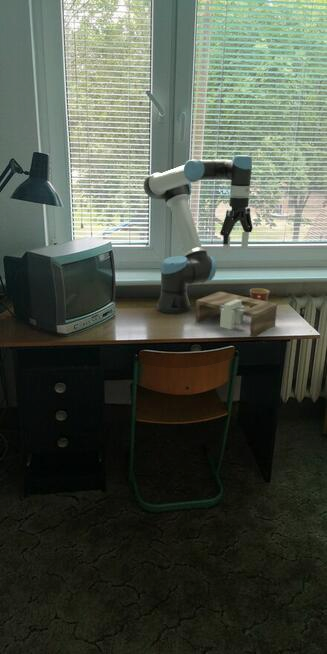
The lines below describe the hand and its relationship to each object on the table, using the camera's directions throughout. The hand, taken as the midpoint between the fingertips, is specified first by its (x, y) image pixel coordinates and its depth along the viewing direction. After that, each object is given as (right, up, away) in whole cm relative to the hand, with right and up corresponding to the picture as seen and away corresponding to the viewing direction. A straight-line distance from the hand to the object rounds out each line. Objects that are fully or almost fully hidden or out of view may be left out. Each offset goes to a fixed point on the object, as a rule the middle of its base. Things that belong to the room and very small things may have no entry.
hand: (235, 249), depth 200 cm
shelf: (+1, -30, +5) cm, 31 cm away
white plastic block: (-2, -31, -3) cm, 31 cm away
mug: (+13, -26, +18) cm, 34 cm away
